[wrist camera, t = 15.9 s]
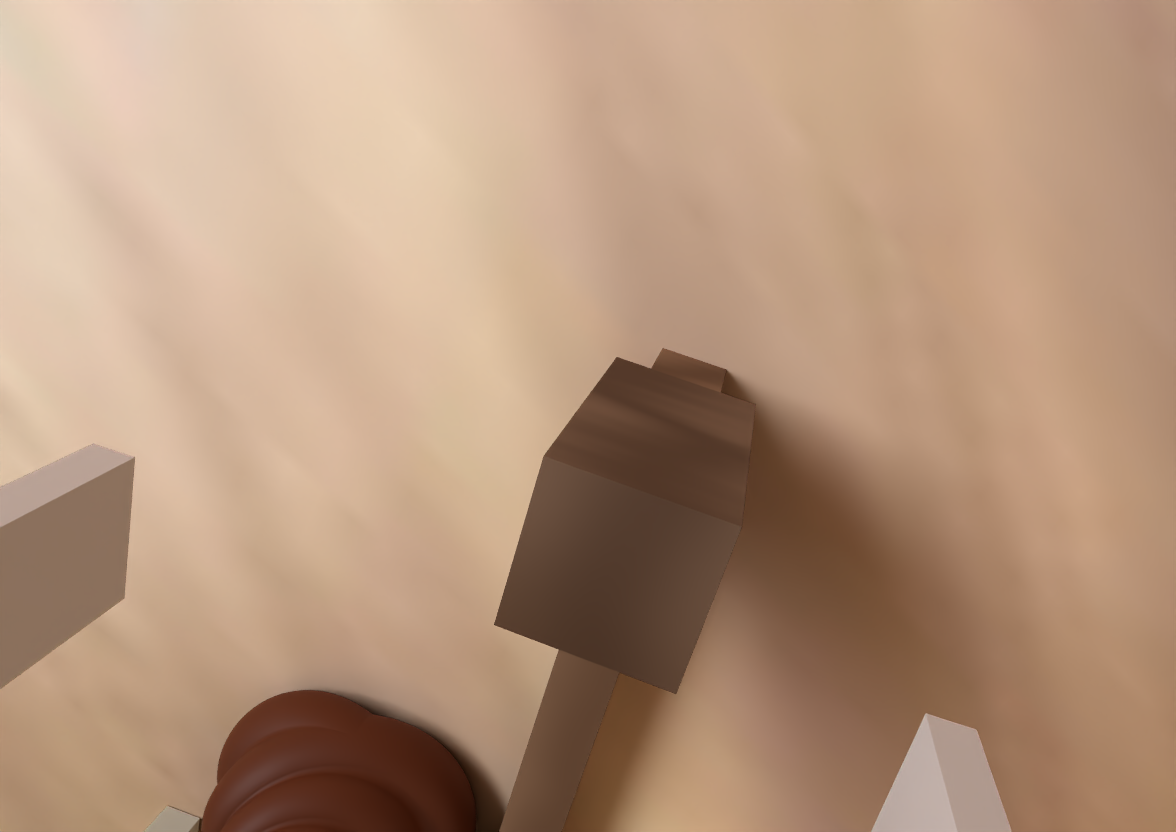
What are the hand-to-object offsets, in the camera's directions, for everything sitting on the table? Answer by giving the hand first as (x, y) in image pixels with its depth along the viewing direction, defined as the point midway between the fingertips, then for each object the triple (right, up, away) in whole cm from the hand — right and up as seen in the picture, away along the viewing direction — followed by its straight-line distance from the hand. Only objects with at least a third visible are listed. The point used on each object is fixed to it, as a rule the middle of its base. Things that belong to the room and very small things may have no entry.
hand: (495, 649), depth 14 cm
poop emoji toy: (-7, -10, +21) cm, 24 cm away
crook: (-3, -5, +18) cm, 18 cm away
